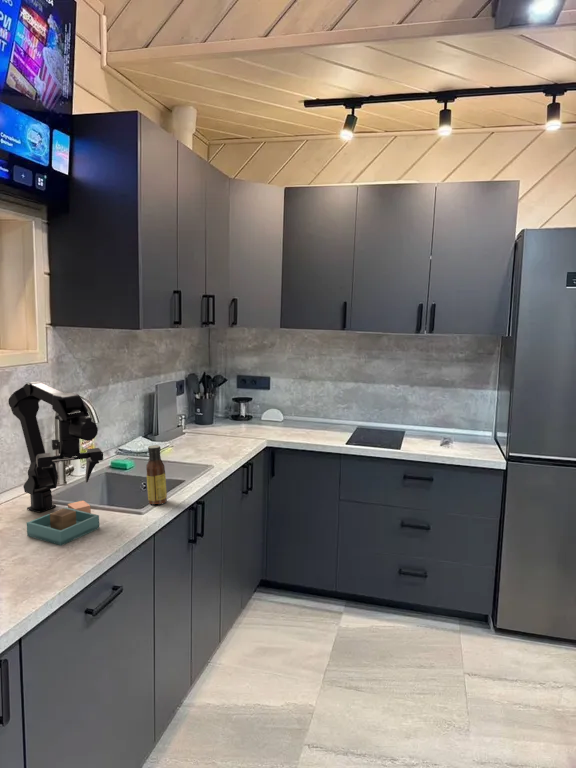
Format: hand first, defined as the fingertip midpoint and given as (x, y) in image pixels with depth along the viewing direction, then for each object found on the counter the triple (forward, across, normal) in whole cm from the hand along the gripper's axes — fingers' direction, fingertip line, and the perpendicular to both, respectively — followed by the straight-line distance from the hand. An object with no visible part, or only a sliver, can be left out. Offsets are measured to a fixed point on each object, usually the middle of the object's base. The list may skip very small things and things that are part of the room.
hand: (70, 484), depth 166 cm
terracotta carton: (+12, -3, -5) cm, 13 cm away
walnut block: (+10, +4, +8) cm, 14 cm away
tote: (+12, +4, +8) cm, 15 cm away
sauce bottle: (+12, -28, -2) cm, 30 cm away
